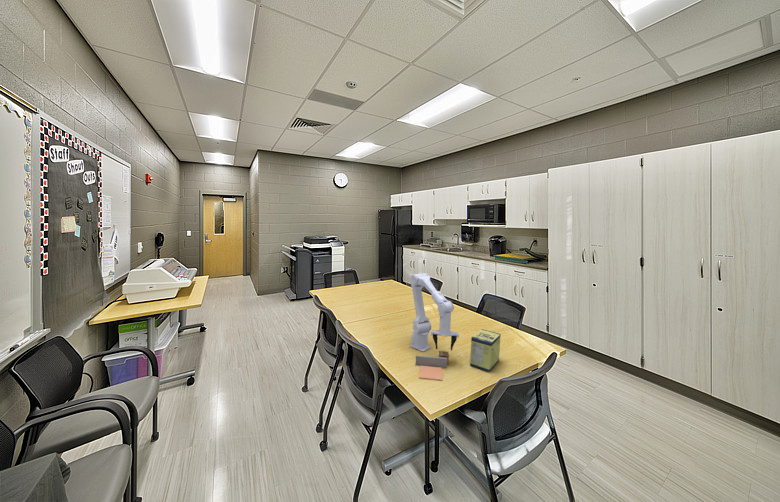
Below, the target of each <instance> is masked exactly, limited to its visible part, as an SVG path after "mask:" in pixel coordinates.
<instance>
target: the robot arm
mask: <svg viewBox="0 0 780 502" xmlns="http://www.w3.org/2000/svg"><path fill="white" fill-rule="evenodd" d="M409 279H410V280H409V281H410V286H411V287H410V288H411V289H412V298H413V302H414V310H415V315H416V316H415V318H414V319H413V321H412V324H413V325H412V329H413V332H412V333H411V337H410V339H411V340H410V341H411V343H410V347H411V348H412V349H416V350H418V351H421V352H425V351H426V350H429V349H431V348H432V347H431V346H430V345H428V344H429V334H430V336H432V339H433V341H434V344H435V349H436V350H438V336H442V337H450V340H451V341H450V351H453V348H454V344H455V343H456V342H457V339H458V338H459V337H460V333H459V332H458V331H457V332H456V331H451V324H452V323H451V320H452V319H451V318H452V312H453V311H454V309H455V308H454V307H455V306H454V304H453V302H452V301H451V300H448V299H447V298H446V297H445V296H444V294H443V293H442V292H441V291H440V290H437V289H436V288H435V286H434V284H433V283H432V281H431V276H430V275H429V273H428V272H424V273H413V274H411V277H410V278H409ZM423 288H425V289H426V290H427V291H428V292H429V293H430V294H431V299H432V300H433V301H434V303H435V304H436V306H437V311H438V316H439V328H438V329H437V330H432V323H431V321H430V318H429V317H427V316H426V311H425V306H424V300H423V292H422V289H423Z"/></svg>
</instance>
